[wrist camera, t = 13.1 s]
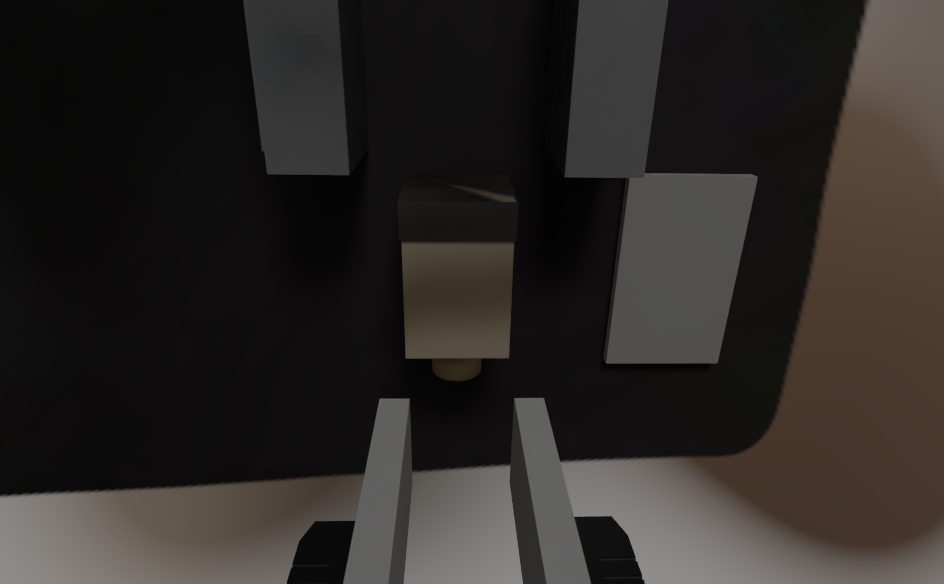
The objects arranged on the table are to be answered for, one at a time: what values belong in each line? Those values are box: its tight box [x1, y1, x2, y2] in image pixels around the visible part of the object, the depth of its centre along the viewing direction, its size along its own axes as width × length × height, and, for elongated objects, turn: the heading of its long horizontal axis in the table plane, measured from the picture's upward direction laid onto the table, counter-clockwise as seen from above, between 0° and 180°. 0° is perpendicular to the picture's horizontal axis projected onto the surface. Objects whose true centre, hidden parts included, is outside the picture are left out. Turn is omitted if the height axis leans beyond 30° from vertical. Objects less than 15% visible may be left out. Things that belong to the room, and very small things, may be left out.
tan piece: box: [397, 173, 519, 381], centre depth 27 cm, size 9×5×5 cm, turn 179°
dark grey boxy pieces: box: [243, 0, 668, 178], centre depth 22 cm, size 10×17×6 cm, turn 89°
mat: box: [603, 173, 758, 363], centre depth 29 cm, size 10×6×1 cm, turn 179°
